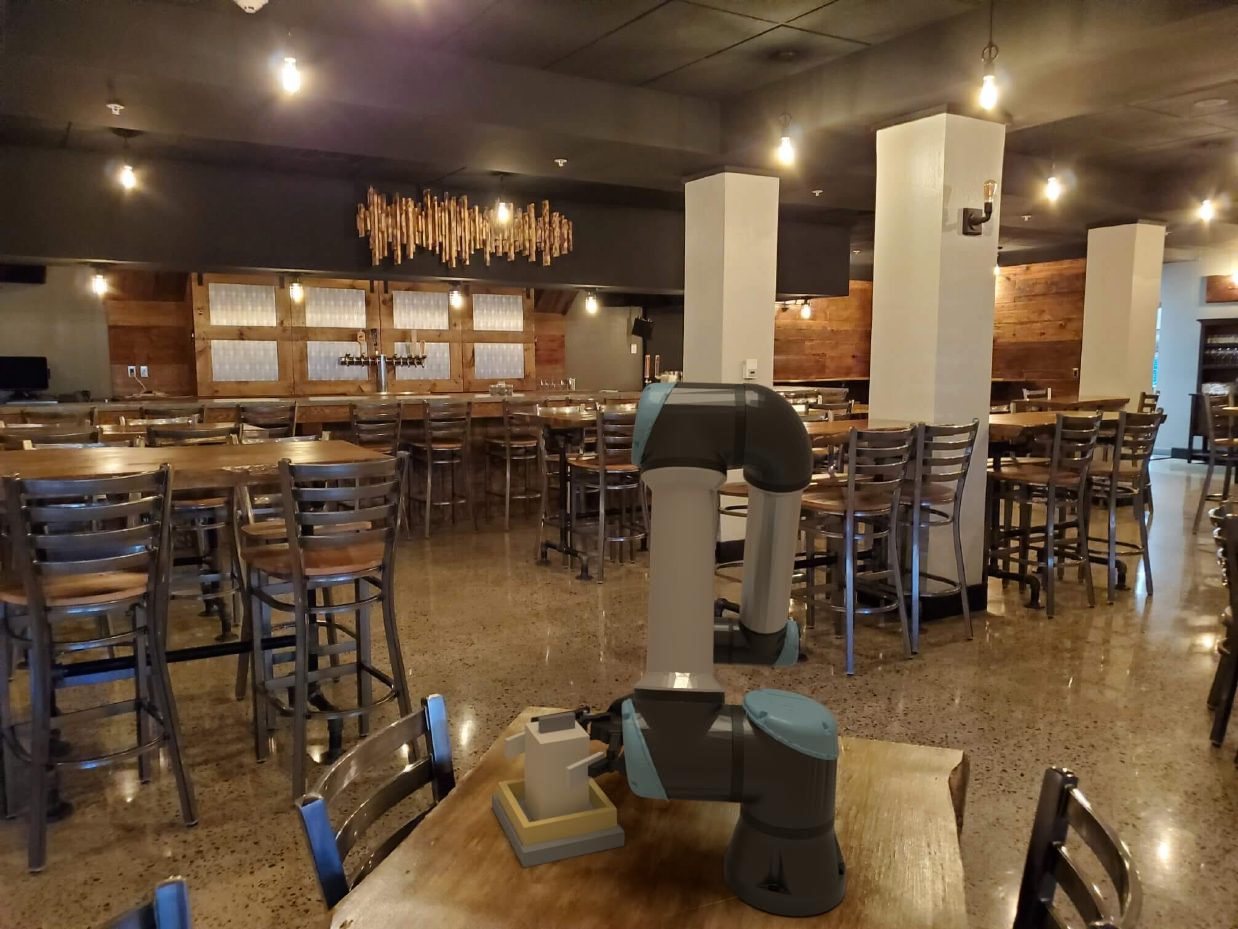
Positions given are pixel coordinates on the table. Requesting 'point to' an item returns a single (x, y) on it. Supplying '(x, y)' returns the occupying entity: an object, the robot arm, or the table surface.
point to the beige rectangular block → (554, 766)
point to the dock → (556, 826)
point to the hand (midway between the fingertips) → (535, 763)
